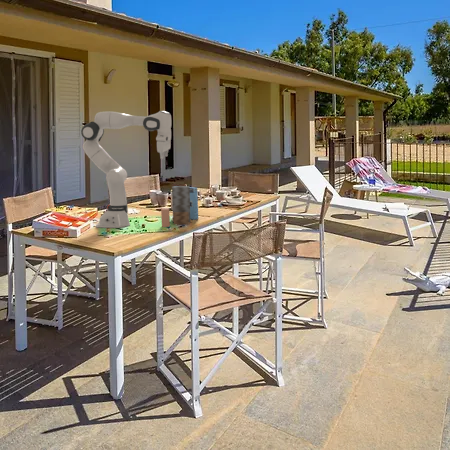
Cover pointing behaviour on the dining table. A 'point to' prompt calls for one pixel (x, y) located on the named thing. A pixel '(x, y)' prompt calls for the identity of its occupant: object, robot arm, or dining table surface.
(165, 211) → the salmon brown rectangular block
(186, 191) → the wall board with cleat
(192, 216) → the gum box
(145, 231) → the dining table surface
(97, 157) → the robot arm
